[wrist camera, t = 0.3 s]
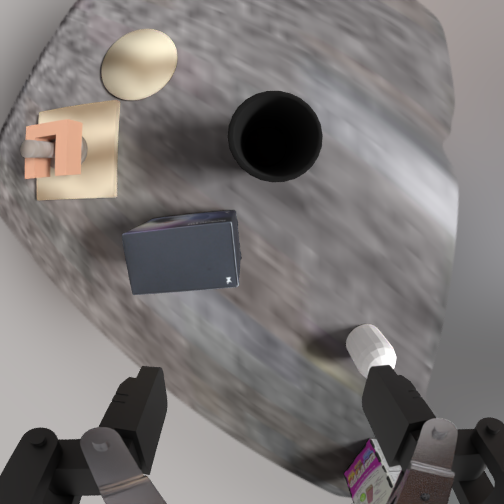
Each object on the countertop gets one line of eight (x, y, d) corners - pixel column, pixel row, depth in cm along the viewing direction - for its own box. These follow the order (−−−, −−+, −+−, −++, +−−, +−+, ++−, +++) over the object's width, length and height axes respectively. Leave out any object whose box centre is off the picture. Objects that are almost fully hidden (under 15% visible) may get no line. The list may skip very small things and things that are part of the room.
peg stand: (43, 113, 34) (-7, 102, 23) (120, 101, 34) (79, 80, 23) (41, 199, 37) (-11, 210, 26) (117, 196, 37) (74, 206, 26)
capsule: (338, 340, 43) (355, 372, 35) (369, 316, 42) (392, 344, 34) (357, 362, 44) (375, 394, 36) (386, 340, 43) (409, 369, 35)
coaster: (107, 35, 32) (106, 34, 31) (180, 26, 32) (180, 25, 32) (99, 104, 34) (97, 103, 34) (174, 97, 35) (173, 97, 34)
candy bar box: (363, 473, 51) (385, 534, 35) (342, 473, 51) (362, 537, 35) (391, 437, 49) (422, 500, 33) (369, 437, 48) (398, 504, 32)
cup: (226, 172, 37) (219, 172, 25) (239, 110, 35) (237, 82, 24) (291, 185, 38) (313, 190, 26) (303, 123, 36) (329, 102, 24)
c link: (42, 128, 31) (26, 126, 27) (82, 122, 31) (68, 119, 27) (41, 177, 32) (24, 179, 29) (80, 174, 32) (66, 175, 29)
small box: (236, 206, 38) (234, 218, 28) (242, 259, 40) (241, 289, 29) (150, 216, 38) (119, 231, 28) (158, 267, 40) (132, 298, 29)
